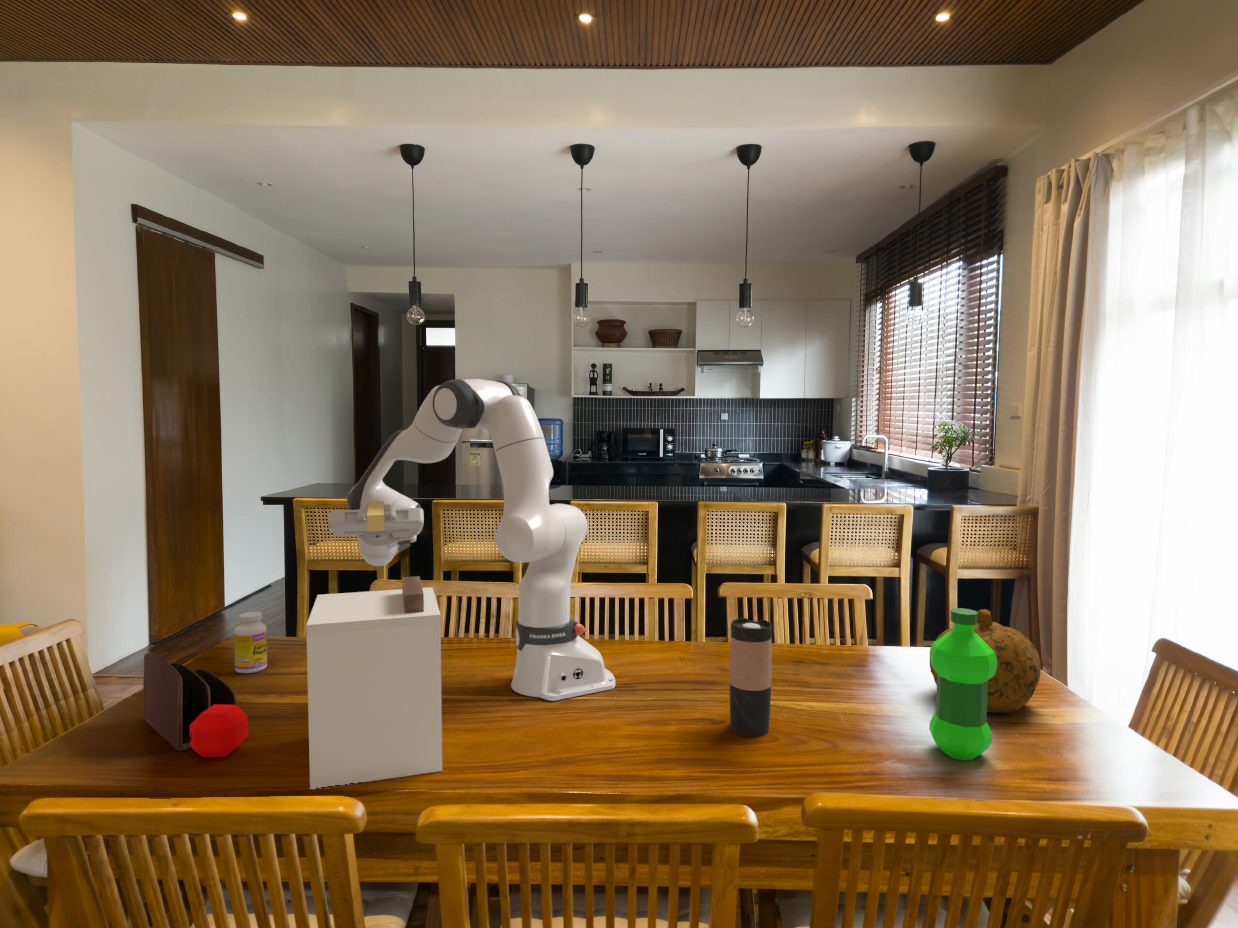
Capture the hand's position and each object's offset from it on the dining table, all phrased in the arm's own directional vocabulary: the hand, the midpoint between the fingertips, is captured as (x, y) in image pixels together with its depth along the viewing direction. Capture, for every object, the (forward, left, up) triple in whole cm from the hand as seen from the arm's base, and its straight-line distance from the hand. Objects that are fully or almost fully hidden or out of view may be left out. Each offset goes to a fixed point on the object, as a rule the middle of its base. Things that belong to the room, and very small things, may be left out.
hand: (376, 507), depth 156 cm
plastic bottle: (-96, +66, -39) cm, 123 cm away
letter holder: (+33, +14, -39) cm, 53 cm away
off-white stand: (0, +36, -38) cm, 52 cm away
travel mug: (-66, +46, -39) cm, 89 cm away
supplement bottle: (+28, -17, -39) cm, 51 cm away
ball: (+26, +27, -39) cm, 54 cm away
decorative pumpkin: (-118, +49, -39) cm, 134 cm away
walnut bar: (-6, +36, -12) cm, 39 cm away
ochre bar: (0, +9, -2) cm, 9 cm away
